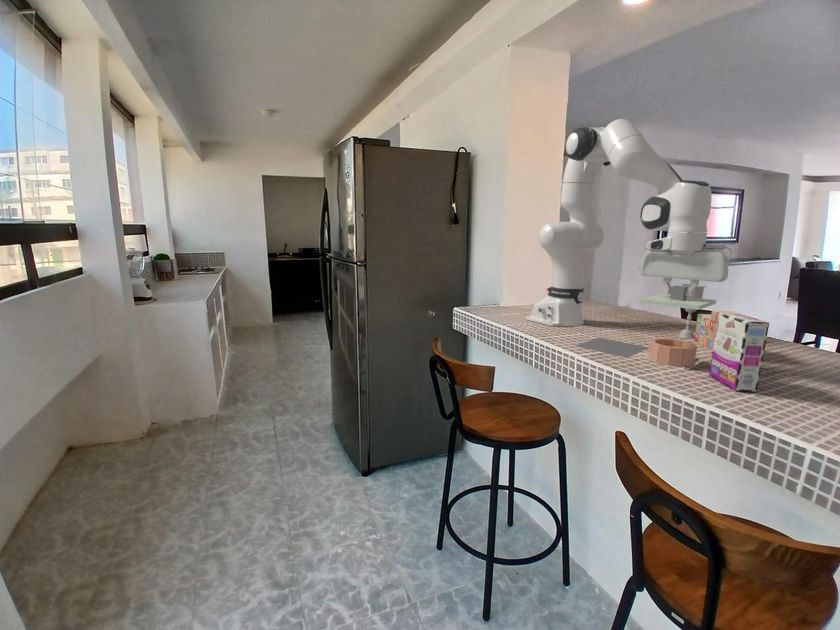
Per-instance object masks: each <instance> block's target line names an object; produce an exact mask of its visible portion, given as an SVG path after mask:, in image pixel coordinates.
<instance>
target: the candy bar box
mask: <svg viewBox="0 0 840 630" xmlns="http://www.w3.org/2000/svg"><path fill="white" fill-rule="evenodd" d="M744 315H745V314H744ZM744 315H740V314H731V313H719V317H718V323H717V329H716V335H715V342H714V348H713V349H712V354H711V361H710V368H709V377H711V378H712V379H714V380H715V381H718V383H721V384H723V385H724V384H725V386H726V387H728V388H729V387H730V388H729V389H732V390H733V391H734V392H743V391H744V393H745V392H746V393H756V392H758V387H759V382H760V381H759V380H760V376H761V370H762V364H763V359H764V356H765V355H764V354H765V348H766V344H767V339H768V332H769V327H770V322H767V321H764V320H761V319H758V318H753V317H751V316H750V317H747V316H748V315H747V316H744Z"/></svg>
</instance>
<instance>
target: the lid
mask: <svg viewBox="0 0 840 630" xmlns="http://www.w3.org/2000/svg"><path fill="white" fill-rule="evenodd" d="M671 287H672V288H671V295H667V294H666V293H659V294H655V295H651V296H647V297H642V298H640V301H639V303H643V304H650V305H657V306H665V307H674V308H680V309H681V308H682V309H685V308H688V309H696V311H697V310H698V311H699V310H702V309H705V308H708V307H710V306H711V307H712V306H714V305H716V304H717V303H716V302H717V300H716V299H710V298H702V299H701V298H692V297H686V296H684V294H685V293H684V292H685V290H687V289H688V287H685V286H683V285H671Z"/></svg>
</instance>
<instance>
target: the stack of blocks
mask: <svg viewBox="0 0 840 630" xmlns="http://www.w3.org/2000/svg"><path fill="white" fill-rule="evenodd" d="M719 313H731V314H740V315H744V316H747V317H751V316H750V315H747V314H743V313H741V312H738V311H735V310H723V309H722V310H716V309H712V310H711V313H710V314H704V313H698V314H697V317H696V327H695V333H694V336H695V339H694V341H695V342H697V343H698V342H699V343H698V344H700V345H701V344H702V345H701V346H703V347H705V348H706V347H707V348H706V349H710V350H713V348H714V342H715V335H716V329H717V323H718V317H719Z"/></svg>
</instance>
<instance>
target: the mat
mask: <svg viewBox="0 0 840 630" xmlns="http://www.w3.org/2000/svg"><path fill="white" fill-rule="evenodd" d="M574 346H575V347H577V348H582V349H587V350H592V351H595V352H600V353H604V354H610V355H613V356H616V357H617V356H618V357H623V358H629V357H632V356H634V355H636V354H638V353H641V352H643V351H645V350H648V349H649V346H648V347H647V346H643V345H639V344H638V345H637V344H633V343H628V342H623V341H619V340H613V339H608V338H603V337H597V338H594V339H590V340H588V341H585V342H581V343H579V344H576V345H574Z"/></svg>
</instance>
